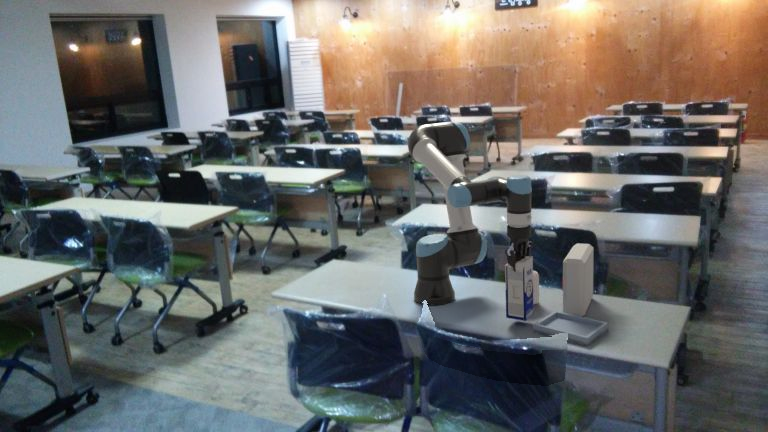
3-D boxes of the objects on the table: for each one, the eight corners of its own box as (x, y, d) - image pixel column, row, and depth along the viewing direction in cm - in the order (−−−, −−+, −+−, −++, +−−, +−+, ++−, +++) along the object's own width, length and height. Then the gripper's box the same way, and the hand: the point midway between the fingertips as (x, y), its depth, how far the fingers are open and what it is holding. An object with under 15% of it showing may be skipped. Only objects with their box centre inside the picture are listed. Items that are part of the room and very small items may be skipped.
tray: (533, 331, 196) (533, 324, 195) (555, 317, 206) (555, 310, 205) (587, 345, 184) (587, 338, 183) (608, 330, 193) (608, 322, 193)
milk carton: (525, 321, 198) (525, 261, 193) (505, 317, 202) (504, 259, 197) (533, 313, 204) (532, 255, 199) (514, 310, 207) (512, 252, 203)
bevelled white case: (570, 295, 225) (570, 242, 221) (593, 297, 221) (594, 243, 217) (558, 316, 207) (558, 258, 202) (584, 319, 203) (584, 260, 199)
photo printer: (532, 299, 223) (531, 266, 220) (541, 302, 220) (540, 269, 217) (511, 306, 218) (510, 273, 215) (520, 310, 214) (519, 276, 212)
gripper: (518, 230, 189) (518, 303, 195) (540, 221, 198) (539, 291, 204) (497, 227, 194) (498, 298, 200) (519, 218, 203) (520, 286, 209)
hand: (519, 294), depth 202 cm, fingers closed
